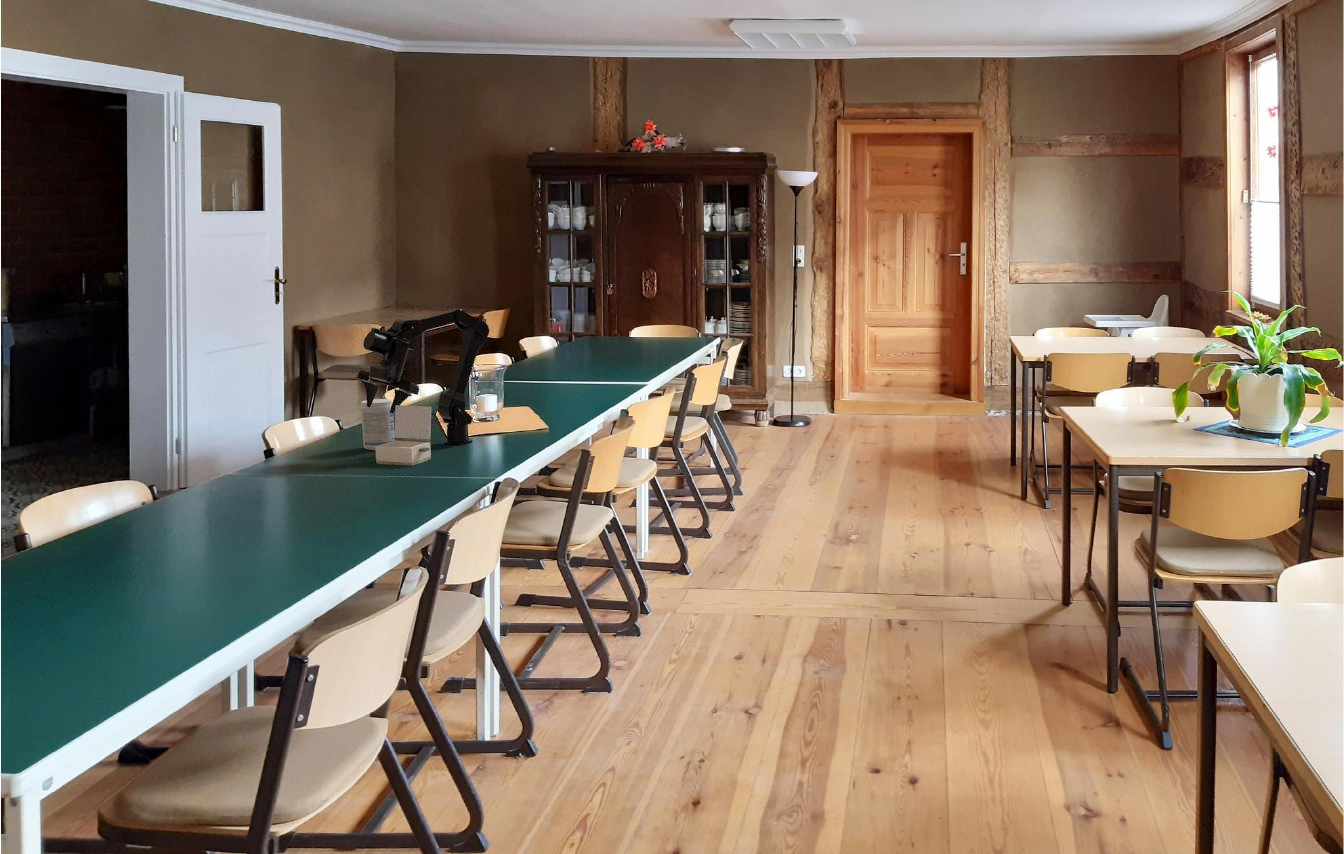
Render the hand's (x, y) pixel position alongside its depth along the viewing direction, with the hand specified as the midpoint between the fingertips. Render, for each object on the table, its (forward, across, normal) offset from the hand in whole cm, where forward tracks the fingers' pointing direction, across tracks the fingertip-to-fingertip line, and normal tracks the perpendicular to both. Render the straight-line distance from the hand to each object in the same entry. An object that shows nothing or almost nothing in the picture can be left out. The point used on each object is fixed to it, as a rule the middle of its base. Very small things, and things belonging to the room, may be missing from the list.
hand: (379, 410), depth 370 cm
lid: (+1, +12, -1) cm, 12 cm away
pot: (+13, +14, -2) cm, 19 cm away
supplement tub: (+11, -5, +14) cm, 19 cm away
